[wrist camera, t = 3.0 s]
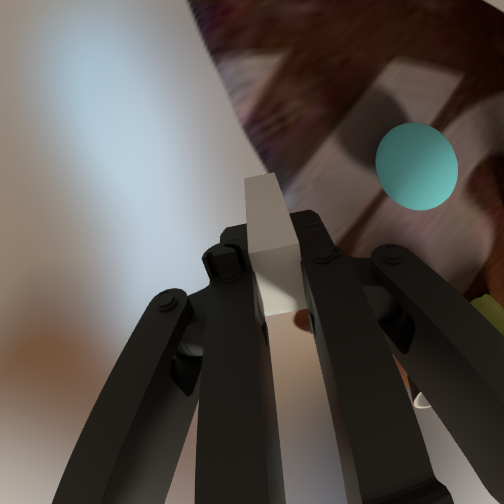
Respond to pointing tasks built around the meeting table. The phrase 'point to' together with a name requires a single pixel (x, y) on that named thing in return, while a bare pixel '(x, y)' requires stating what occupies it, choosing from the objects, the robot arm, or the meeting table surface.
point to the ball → (416, 166)
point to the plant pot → (490, 311)
